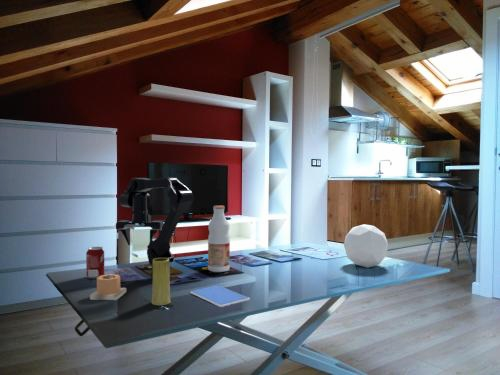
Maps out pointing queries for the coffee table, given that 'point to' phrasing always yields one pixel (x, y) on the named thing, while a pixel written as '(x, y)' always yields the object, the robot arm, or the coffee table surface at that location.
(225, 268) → the fruit juice
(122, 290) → the shaft block
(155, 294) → the vase
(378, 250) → the geometric polyhedron
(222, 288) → the tablet computer
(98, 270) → the soda can
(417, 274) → the coffee table surface
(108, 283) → the ring
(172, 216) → the robot arm
